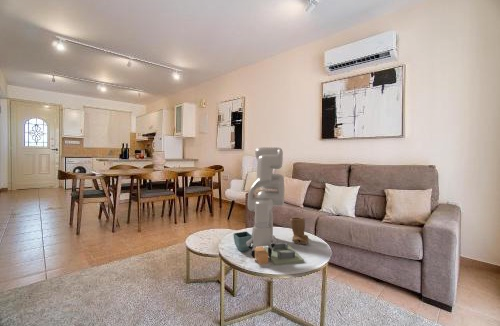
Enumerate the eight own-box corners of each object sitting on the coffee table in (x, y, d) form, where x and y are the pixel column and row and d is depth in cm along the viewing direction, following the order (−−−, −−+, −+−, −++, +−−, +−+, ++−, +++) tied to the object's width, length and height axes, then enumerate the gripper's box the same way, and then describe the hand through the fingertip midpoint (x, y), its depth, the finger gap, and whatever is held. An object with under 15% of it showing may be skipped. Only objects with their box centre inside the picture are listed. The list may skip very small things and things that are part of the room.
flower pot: (238, 253, 141) (238, 237, 141) (232, 248, 149) (233, 233, 149) (252, 251, 145) (252, 235, 144) (246, 245, 153) (246, 231, 152)
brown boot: (290, 236, 171) (291, 214, 170) (308, 237, 167) (309, 215, 167) (287, 244, 156) (288, 220, 155) (307, 246, 153) (307, 221, 152)
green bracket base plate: (263, 249, 146) (263, 242, 146) (289, 247, 150) (289, 240, 150) (274, 265, 127) (274, 256, 127) (303, 262, 130) (303, 253, 130)
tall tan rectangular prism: (253, 256, 138) (253, 247, 138) (262, 255, 139) (262, 246, 139) (258, 264, 128) (258, 254, 128) (268, 263, 129) (268, 253, 129)
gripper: (275, 221, 138) (274, 252, 139) (244, 223, 134) (244, 255, 135) (279, 225, 131) (279, 258, 132) (247, 227, 127) (246, 261, 128)
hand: (261, 256), depth 133 cm, fingers open, 8 cm apart
